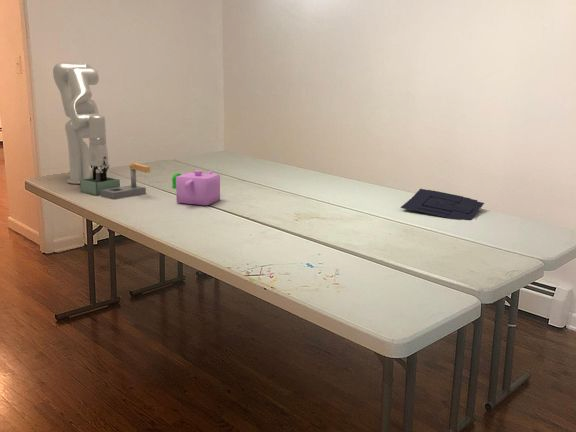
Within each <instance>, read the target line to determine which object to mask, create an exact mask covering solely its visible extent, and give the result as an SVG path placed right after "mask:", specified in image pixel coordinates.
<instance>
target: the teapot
mask: <svg viewBox="0 0 576 432" xmlns="http://www.w3.org/2000/svg"><path fill="white" fill-rule="evenodd" d="M175 190H176V192H175V193H176V194H175V195H176V204H179V203H180V204H189V205H200V206H210V205H211V204H214V203H216V202H219V201H221V175H220V174H217V173H215V174H214V173H213V170H209V171H207V172H206V173H205V172H204V173H203V170H201V169H200V170H199V169H196V170H194V171H193V172H191V171H190V172H187V173H184V174H181V175H180V176H177V177H176V189H175Z"/></svg>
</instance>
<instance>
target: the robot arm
mask: <svg viewBox="0 0 576 432" xmlns="http://www.w3.org/2000/svg"><path fill="white" fill-rule="evenodd" d="M52 75H53V80H54V83H55V85H56V86H57V89H58V91H59V94H60V97H61V102H62V107H63V111H64V114H65V116H66V117H67V118H68V119H69V118H70V120H68V121H67V122H66V123H65V124H64V125H65V126H64V130H65V134H66V139H67V144H68V145H67V146H68V147H67V148H68V161H69V173H68V174H67V176H68V177H69V178H68V179H67V180H66V181H67V183H68V184H75V185H76V184H77V185H78V184H79V185H80V180H81V179H88V178H91V173H90V168H91V172H92V178H93V180H96V169H100V171H101V173H100V181H106V180H107V177H108V175H107V173H108V170H109V168H110V163H109V154H108V149H107V148H108V147H107V133H106V130H107V129H106V118H105V116H104V115H103V114H101V115H100V114H99V109H98V106H97V104H96V102H95V100H93V99H92V96H93V94H92V89H91V87H90V86H95V85H97V84H98V83H99V80H100V78H99V73H98V71H97V69H96V68H95V67H94V66H92V65H90V64H89V63H85V62H59V63H56V64H55V65H54V66H53V69H52ZM84 139H89V140H88V141H89V145H88V144H87V143H86V141H84Z"/></svg>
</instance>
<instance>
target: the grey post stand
mask: <svg viewBox="0 0 576 432" xmlns="http://www.w3.org/2000/svg"><path fill="white" fill-rule="evenodd" d="M130 183H131V184H130V185H123V186H120V187H116V188H110V189H103V190H101V195H100V197H102V198H106V199H110V200H117V199H119V200H120V199H122V198H123V199H124V198H130V197H135V196H141V195H147V192H146V191H147V188H146V187H145V186H140V185H137V170H135V169H130Z"/></svg>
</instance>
